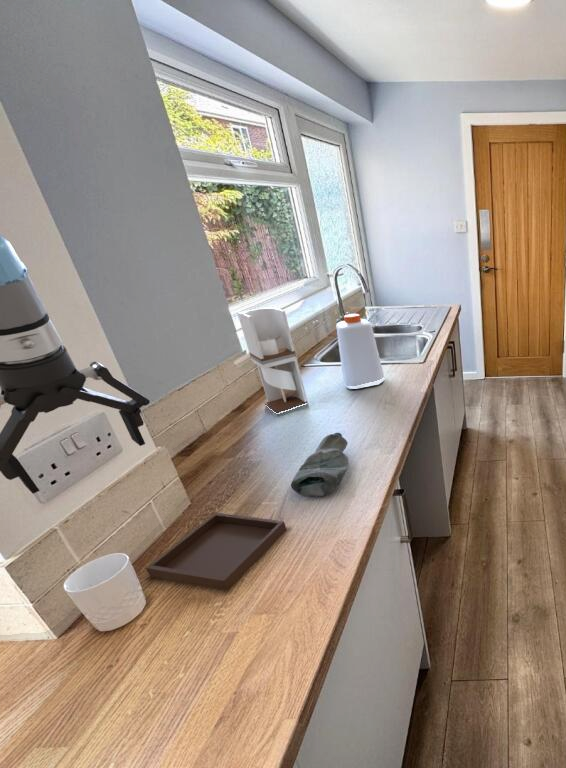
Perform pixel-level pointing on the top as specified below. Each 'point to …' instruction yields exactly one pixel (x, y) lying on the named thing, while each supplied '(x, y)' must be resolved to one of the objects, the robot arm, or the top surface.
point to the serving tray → (217, 551)
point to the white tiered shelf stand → (274, 358)
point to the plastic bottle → (358, 351)
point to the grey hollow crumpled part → (322, 468)
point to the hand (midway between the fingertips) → (89, 463)
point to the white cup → (106, 591)
